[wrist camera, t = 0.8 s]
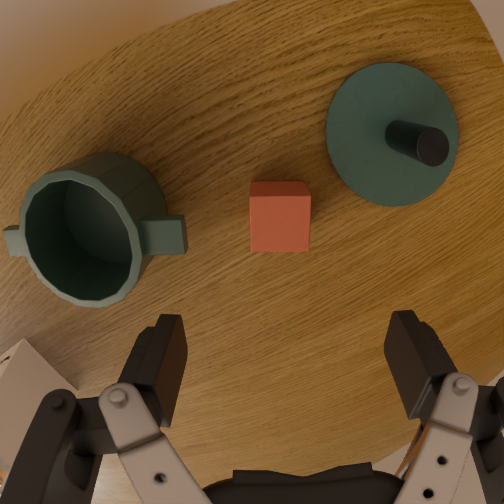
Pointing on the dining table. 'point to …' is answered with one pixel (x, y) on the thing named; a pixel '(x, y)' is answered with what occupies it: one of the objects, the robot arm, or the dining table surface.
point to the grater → (22, 396)
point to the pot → (95, 228)
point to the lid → (391, 134)
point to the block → (279, 216)
